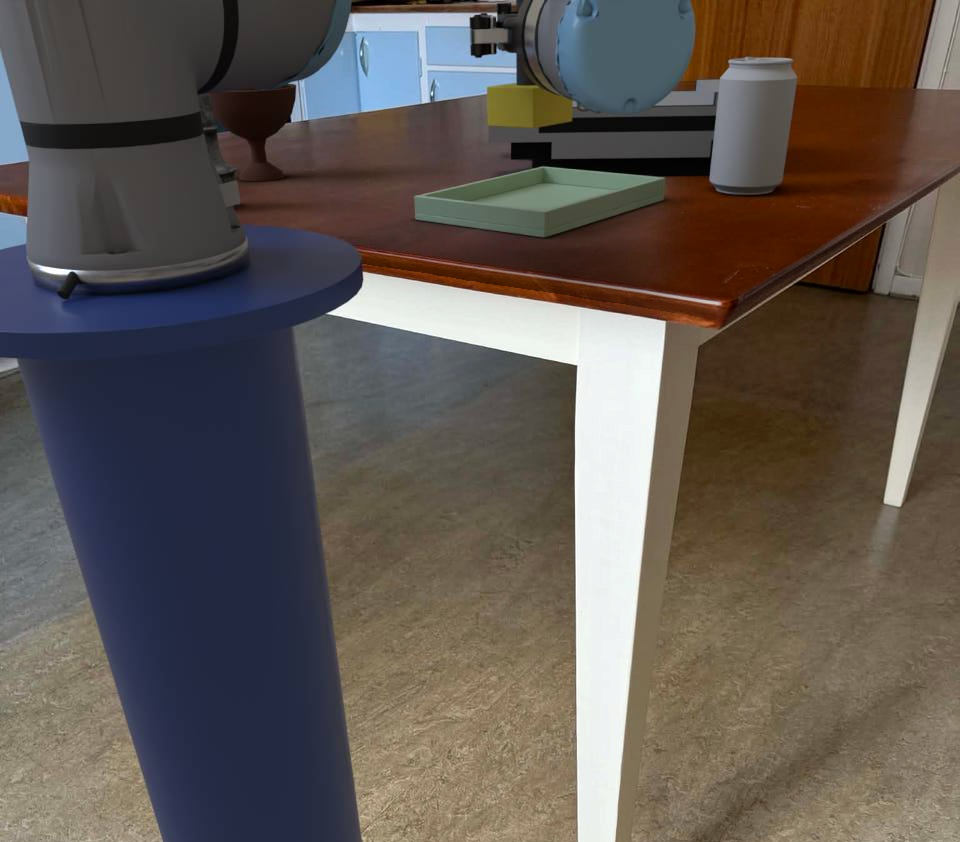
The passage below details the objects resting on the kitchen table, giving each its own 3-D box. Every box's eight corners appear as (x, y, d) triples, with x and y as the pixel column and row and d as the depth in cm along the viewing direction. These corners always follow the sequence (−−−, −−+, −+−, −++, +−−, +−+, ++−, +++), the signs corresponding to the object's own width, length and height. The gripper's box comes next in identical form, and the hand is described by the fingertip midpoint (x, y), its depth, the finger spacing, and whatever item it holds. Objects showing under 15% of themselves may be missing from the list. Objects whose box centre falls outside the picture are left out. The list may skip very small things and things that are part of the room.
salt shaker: (237, 212, 96) (216, 75, 89) (179, 214, 96) (154, 76, 89) (246, 201, 101) (227, 71, 94) (191, 203, 100) (167, 72, 94)
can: (752, 199, 96) (770, 60, 89) (693, 190, 100) (706, 58, 93) (795, 189, 99) (815, 56, 93) (736, 181, 104) (752, 54, 97)
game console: (500, 152, 127) (499, 82, 122) (741, 150, 125) (749, 78, 120) (489, 177, 110) (488, 97, 105) (768, 175, 107) (779, 92, 103)
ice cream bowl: (290, 185, 109) (272, 31, 100) (200, 184, 111) (174, 33, 102) (319, 170, 118) (304, 27, 109) (235, 170, 119) (214, 29, 111)
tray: (544, 237, 83) (544, 212, 81) (415, 219, 91) (413, 196, 89) (663, 200, 96) (665, 177, 95) (542, 187, 104) (542, 166, 103)
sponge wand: (533, 128, 80) (534, -78, 72) (487, 126, 83) (483, -73, 75) (572, 121, 84) (577, -75, 76) (527, 119, 87) (527, -71, 79)
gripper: (467, 103, 66) (435, 80, 86) (680, 93, 68) (602, 73, 87) (463, -28, 62) (431, -20, 81) (690, -35, 63) (605, -26, 83)
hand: (519, 28), depth 84 cm, fingers closed on sponge wand, 2 cm apart
